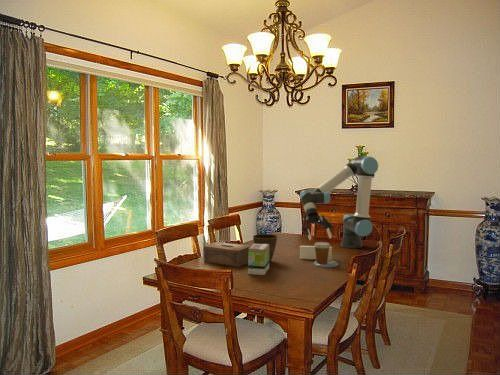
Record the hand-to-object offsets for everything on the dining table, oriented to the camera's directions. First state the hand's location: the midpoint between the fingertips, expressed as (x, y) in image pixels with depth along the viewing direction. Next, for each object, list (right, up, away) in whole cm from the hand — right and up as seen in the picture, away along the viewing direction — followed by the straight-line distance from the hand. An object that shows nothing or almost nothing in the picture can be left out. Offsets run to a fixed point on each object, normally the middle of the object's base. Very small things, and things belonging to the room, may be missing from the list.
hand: (320, 238), depth 265 cm
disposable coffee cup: (0, -14, -6) cm, 15 cm away
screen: (-2, -14, +7) cm, 16 cm away
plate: (+2, -15, -6) cm, 16 cm away
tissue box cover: (-58, -15, +3) cm, 60 cm away
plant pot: (-34, -15, +2) cm, 37 cm away
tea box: (-39, -17, -20) cm, 47 cm away
